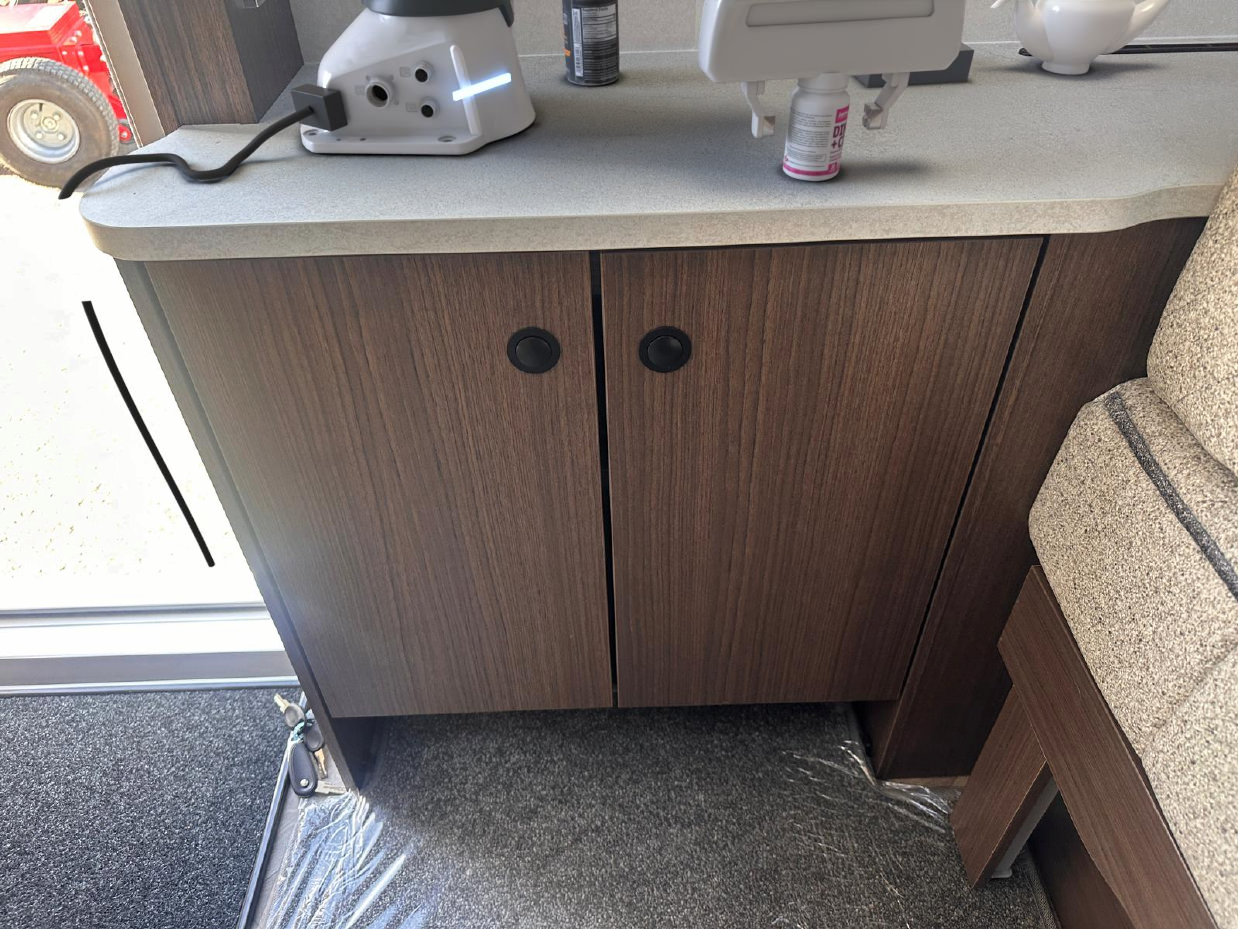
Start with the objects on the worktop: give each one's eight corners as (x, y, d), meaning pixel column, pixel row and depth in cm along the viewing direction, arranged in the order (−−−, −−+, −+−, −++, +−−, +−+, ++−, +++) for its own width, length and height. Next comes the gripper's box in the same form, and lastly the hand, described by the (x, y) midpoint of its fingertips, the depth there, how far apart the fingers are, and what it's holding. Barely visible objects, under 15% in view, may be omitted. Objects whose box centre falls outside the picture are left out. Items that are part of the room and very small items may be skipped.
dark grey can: (574, 69, 96) (568, -45, 88) (624, 71, 95) (623, -44, 87) (560, 85, 91) (552, -34, 84) (613, 87, 90) (610, -33, 83)
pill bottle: (838, 184, 69) (855, 76, 64) (780, 180, 70) (792, 73, 65) (839, 162, 73) (855, 58, 67) (783, 159, 74) (795, 56, 68)
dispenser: (867, 87, 89) (875, 36, 85) (840, 63, 95) (847, 15, 92) (967, 82, 89) (979, 30, 86) (933, 58, 96) (943, 10, 93)
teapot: (960, 58, 96) (982, -35, 90) (1134, 54, 96) (1167, -39, 90) (990, 83, 89) (1015, -16, 83) (1178, 79, 89) (1217, -20, 83)
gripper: (963, -78, 63) (924, 111, 72) (697, -65, 62) (691, 126, 71) (1001, -64, 59) (954, 136, 68) (714, -50, 57) (705, 152, 66)
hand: (818, 131), depth 69 cm, fingers open, 8 cm apart
